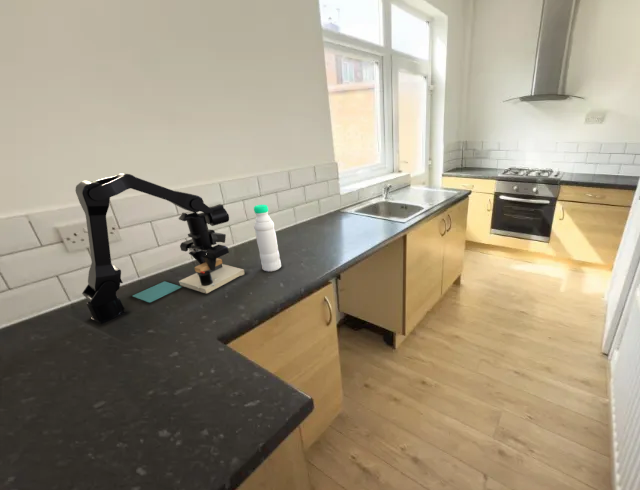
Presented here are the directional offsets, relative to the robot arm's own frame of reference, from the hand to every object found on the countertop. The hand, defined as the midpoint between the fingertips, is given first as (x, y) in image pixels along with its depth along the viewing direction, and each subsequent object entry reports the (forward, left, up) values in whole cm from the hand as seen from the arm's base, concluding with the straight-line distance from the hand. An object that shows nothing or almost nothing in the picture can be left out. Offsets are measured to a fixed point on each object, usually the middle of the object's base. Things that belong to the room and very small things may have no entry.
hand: (210, 269), depth 118 cm
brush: (0, 0, -1) cm, 1 cm away
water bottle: (+14, -17, -3) cm, 22 cm away
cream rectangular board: (-2, -4, -3) cm, 5 cm away
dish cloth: (-16, +6, -3) cm, 17 cm away
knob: (-7, -8, -1) cm, 10 cm away
